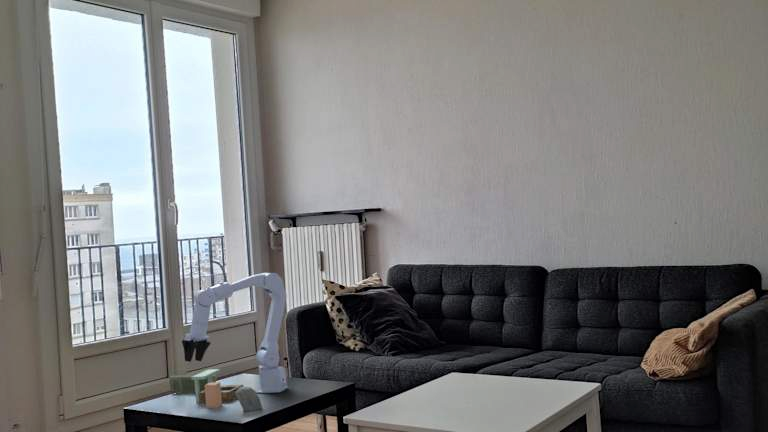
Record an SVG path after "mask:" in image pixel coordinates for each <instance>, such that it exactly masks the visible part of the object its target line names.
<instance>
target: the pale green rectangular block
mask: <svg viewBox="0 0 768 432" xmlns="http://www.w3.org/2000/svg"><path fill="white" fill-rule="evenodd" d="M219 373H221V369H220V368H215V369H214V368H213V369H212V368H210V369H206V370H204V371H202V372H199V373H197V374H195V376H192V377H191V379H192V380H194V382H195V401H196V402H195V403H196V404H198V403H199V394H198V393H200V386H199V379H206V378H208V383H212V375H217V374H219Z"/></svg>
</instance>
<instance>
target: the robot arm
mask: <svg viewBox="0 0 768 432" xmlns="http://www.w3.org/2000/svg"><path fill="white" fill-rule="evenodd" d="M284 286H285V285H284V280H283V279H282V277H281V276H280V275H279V274H278V273H276V272H265V271H264V272H262V273H257V274H254V275H253V274H252V275H250V276H248V277H245V278H242V279H240V280H238V281H235V282H232V283H229V282H226V281H225V282H224V281H219V282H218V284H216V285H214V286H207V287H206V289H199V290H198V291H197V292H196V293H195V295H194V297H193V300H194V308H193V313H192V319H191V324H190V331H189V333H186V334H185V335H184V338H183V339H182V340H181V344H182V348H183V352H184V354H183V355H184V361H185V362H190V363H191V362H192V360H193V356H194V353H195V356H194V360H195V361H197V362H202V361H203V358H204V355H205V353H206V351H207V349H208V348H209V346H211V341H209V340H210V335H207V330H208V325H209V319H210V314H211V306H212V305H214V303H218V302H221V301H222V300H223V301H224V300H225V299H228V298H231V297H232V296H233V293H235V292H238V291H241V290H245V289H248V288H252V287H259V288H261V289H262V290H263V291H265V292H266V293H267V294H268V295H269V297H270V298H271V301H270V307H269V313H268V318H267V321H266V327H265V333H264V336H263V337H264V338H263V340H262V342H260V343H261V344H260V346H259V349H258V350H257V352H256V353H255V354H256V355H255V359H256V362H257V363H258V364H259V365H258V373H259V374H258V375H259V384H260V386H259V387H260V389H259V390H257V391H256V392H257V394H269V393H274V394H275V393H281V392H283V391H285V390H286V389H288V388H289V387H288V383H287V373H286V368H285V367H284V366H279V363H280V358H281V357H280V354H279V351H280V346H279V344H278V342H279V336H280V332H281V327H282V322H283V317H284V312H285V306H286V301H287V292H286V288H285V287H284Z"/></svg>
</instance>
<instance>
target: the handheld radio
mask: <svg viewBox="0 0 768 432" xmlns="http://www.w3.org/2000/svg"><path fill="white" fill-rule="evenodd" d="M195 375H196V374H195ZM195 375H194V374H193V375H191V374H190V375H188V374H187V375H185V374H184V375H171V376H169V385H170V392H171V394H189V393H190V394H192V393H193V394H194V393H195V382H194V380H192V379H191V377H192V376H195ZM217 380H218V378H217V374H214V375H212V383H215V382H217ZM206 384H208V378H206V379H199V386H200V392H202V391H204V390H205V385H206ZM195 394H196V393H195Z"/></svg>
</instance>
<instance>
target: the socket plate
mask: <svg viewBox="0 0 768 432" xmlns="http://www.w3.org/2000/svg"><path fill="white" fill-rule="evenodd" d="M241 386H242V387H244V384H220V387H221V399H222V403H230V402H232V401H234V400H235V399H238V398H237V396H236V394H235V392H236V391H237V390H238V388H240V387H241ZM198 394H199V402H198V403H199V404H202V403H205V404H206V397H205V390H204V391H202V392H200V393H198Z"/></svg>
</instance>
